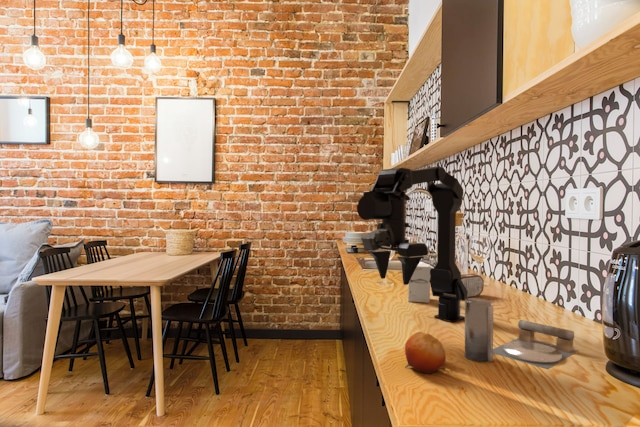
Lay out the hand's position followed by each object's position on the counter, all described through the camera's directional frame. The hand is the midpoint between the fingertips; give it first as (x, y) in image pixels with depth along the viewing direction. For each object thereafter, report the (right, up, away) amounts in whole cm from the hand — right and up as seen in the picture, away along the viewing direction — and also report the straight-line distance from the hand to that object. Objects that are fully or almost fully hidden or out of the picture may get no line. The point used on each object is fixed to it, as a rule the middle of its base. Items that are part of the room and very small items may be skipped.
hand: (393, 281), depth 97 cm
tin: (+36, -14, +45) cm, 59 cm away
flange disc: (+27, -13, -14) cm, 33 cm away
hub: (+14, -14, -16) cm, 26 cm away
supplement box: (+17, -14, +40) cm, 46 cm away
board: (+28, -14, -13) cm, 34 cm away
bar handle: (+33, -13, -9) cm, 36 cm away
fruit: (+3, -14, -19) cm, 24 cm away
